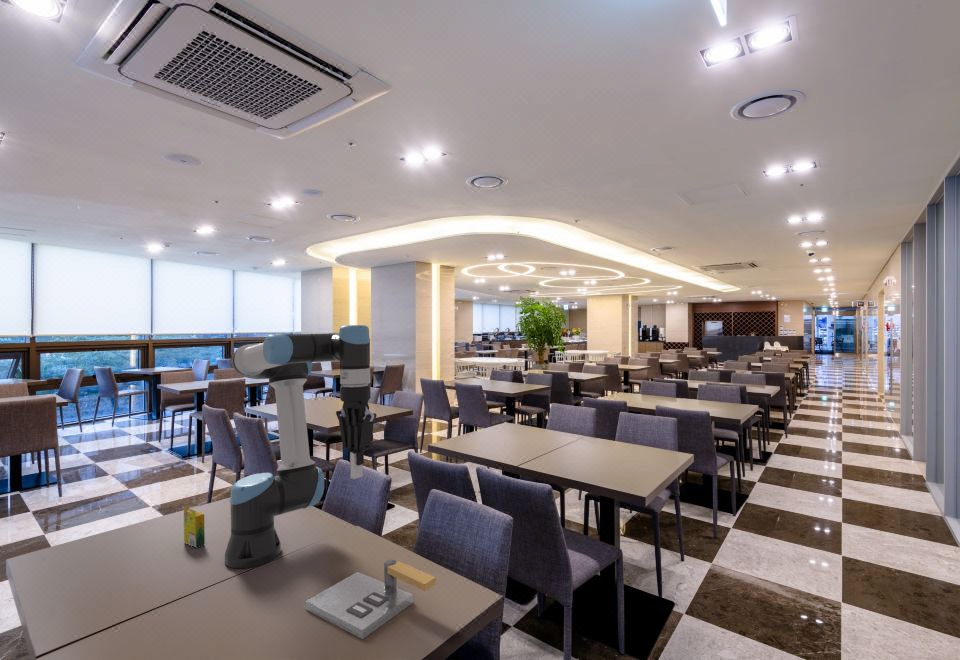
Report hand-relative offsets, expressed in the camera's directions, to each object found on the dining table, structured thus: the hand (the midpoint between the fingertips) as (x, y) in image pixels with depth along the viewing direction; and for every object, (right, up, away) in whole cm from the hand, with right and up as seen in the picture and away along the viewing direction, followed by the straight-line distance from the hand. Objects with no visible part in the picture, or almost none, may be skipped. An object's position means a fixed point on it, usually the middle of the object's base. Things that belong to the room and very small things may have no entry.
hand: (356, 476), depth 117 cm
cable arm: (+14, -22, -7) cm, 27 cm away
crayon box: (-60, -31, +29) cm, 73 cm away
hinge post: (+9, -29, -3) cm, 31 cm away
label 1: (+4, -27, -11) cm, 30 cm away
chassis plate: (+2, -29, -6) cm, 30 cm away
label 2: (+7, -27, -7) cm, 29 cm away
